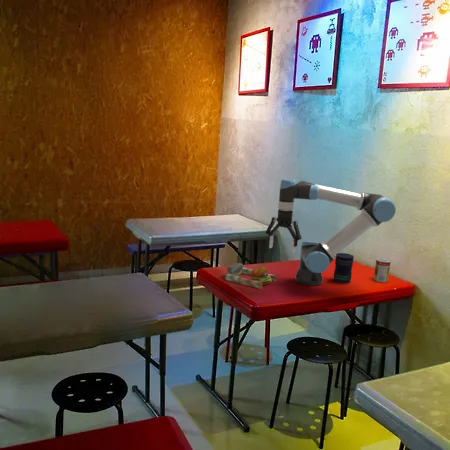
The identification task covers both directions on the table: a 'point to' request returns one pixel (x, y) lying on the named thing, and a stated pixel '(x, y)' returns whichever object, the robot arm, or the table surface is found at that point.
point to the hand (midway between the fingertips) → (281, 250)
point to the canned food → (382, 270)
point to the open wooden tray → (239, 269)
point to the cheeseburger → (261, 275)
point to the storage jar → (343, 268)
